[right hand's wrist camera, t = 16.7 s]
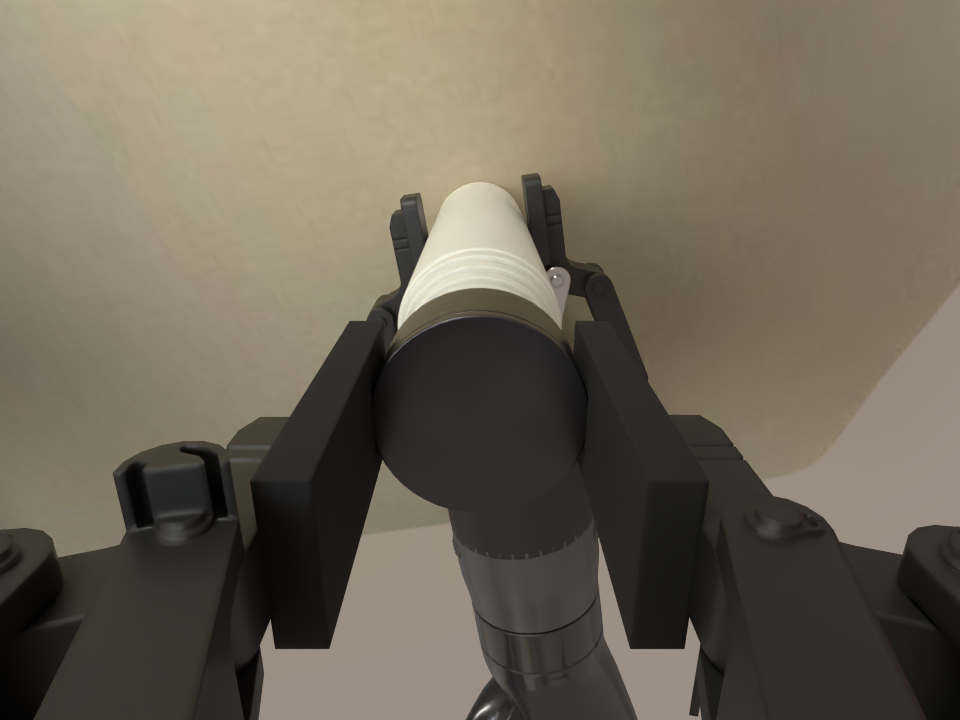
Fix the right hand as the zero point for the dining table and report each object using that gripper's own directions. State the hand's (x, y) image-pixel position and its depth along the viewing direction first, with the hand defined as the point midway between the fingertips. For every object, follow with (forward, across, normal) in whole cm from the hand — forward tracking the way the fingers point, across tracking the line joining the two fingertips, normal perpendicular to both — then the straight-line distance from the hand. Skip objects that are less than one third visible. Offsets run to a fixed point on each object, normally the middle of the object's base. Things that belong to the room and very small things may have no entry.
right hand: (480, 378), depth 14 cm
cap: (-2, 0, 0) cm, 2 cm away
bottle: (+21, 0, 0) cm, 21 cm away
